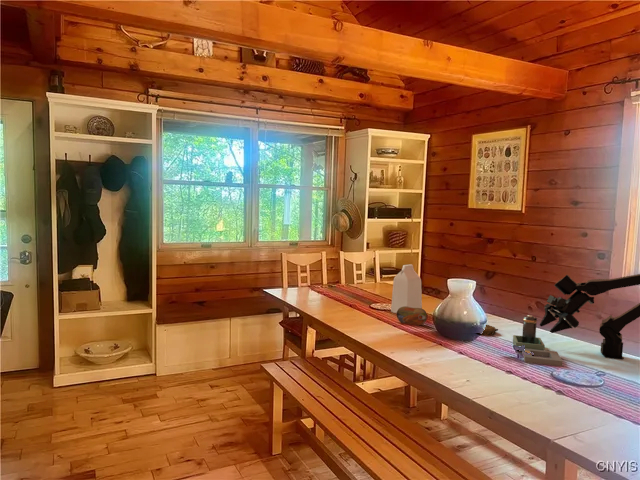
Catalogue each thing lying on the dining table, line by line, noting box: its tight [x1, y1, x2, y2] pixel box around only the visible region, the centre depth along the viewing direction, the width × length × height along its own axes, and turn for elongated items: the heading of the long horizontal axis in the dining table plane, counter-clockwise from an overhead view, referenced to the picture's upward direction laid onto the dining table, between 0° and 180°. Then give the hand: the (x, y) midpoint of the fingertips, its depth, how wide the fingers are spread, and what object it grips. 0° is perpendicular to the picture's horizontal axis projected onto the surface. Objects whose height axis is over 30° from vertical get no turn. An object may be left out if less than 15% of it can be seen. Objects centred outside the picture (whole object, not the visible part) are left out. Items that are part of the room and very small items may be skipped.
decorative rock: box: [482, 324, 499, 337], centre depth 211 cm, size 11×4×15 cm
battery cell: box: [521, 314, 538, 344], centre depth 187 cm, size 5×5×13 cm
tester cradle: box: [523, 348, 564, 367], centre depth 174 cm, size 13×11×2 cm
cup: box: [512, 334, 545, 350], centre depth 187 cm, size 11×11×4 cm
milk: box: [390, 264, 423, 314], centre depth 242 cm, size 12×12×26 cm
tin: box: [396, 306, 428, 326], centre depth 221 cm, size 15×3×8 cm, turn 62°
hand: (545, 328), depth 186 cm, fingers open, 9 cm apart
